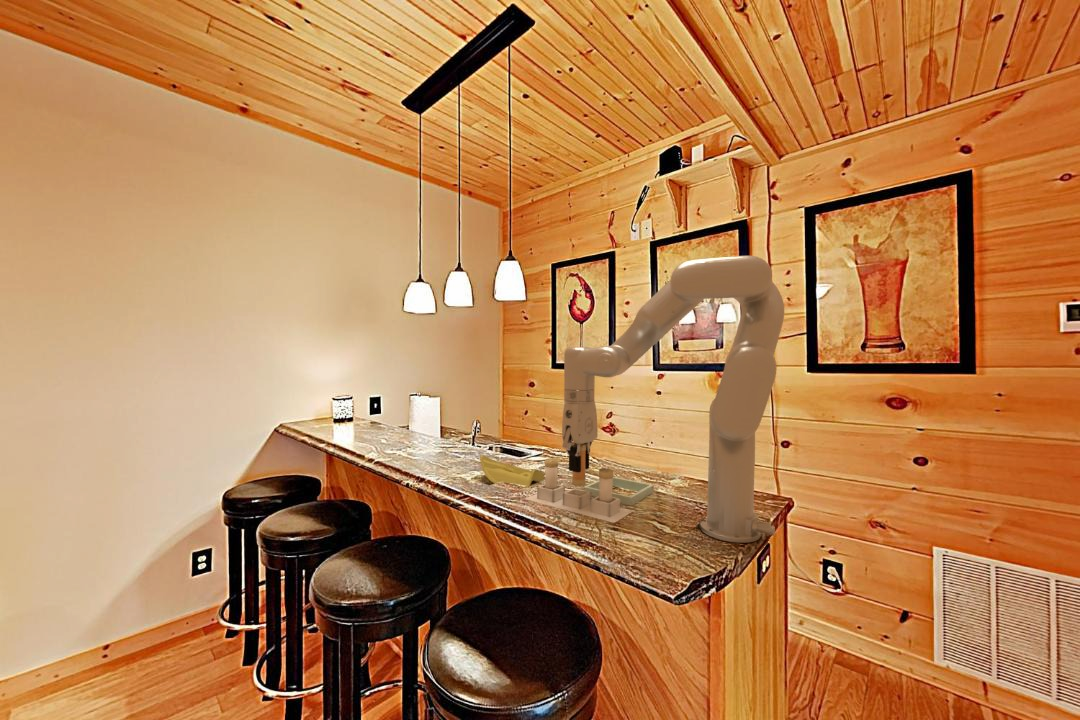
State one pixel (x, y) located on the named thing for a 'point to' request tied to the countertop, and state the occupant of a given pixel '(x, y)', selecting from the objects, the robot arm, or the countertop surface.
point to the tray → (641, 487)
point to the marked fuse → (580, 478)
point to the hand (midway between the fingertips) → (579, 469)
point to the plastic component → (509, 473)
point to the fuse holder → (580, 503)
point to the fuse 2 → (605, 485)
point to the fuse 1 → (551, 473)
